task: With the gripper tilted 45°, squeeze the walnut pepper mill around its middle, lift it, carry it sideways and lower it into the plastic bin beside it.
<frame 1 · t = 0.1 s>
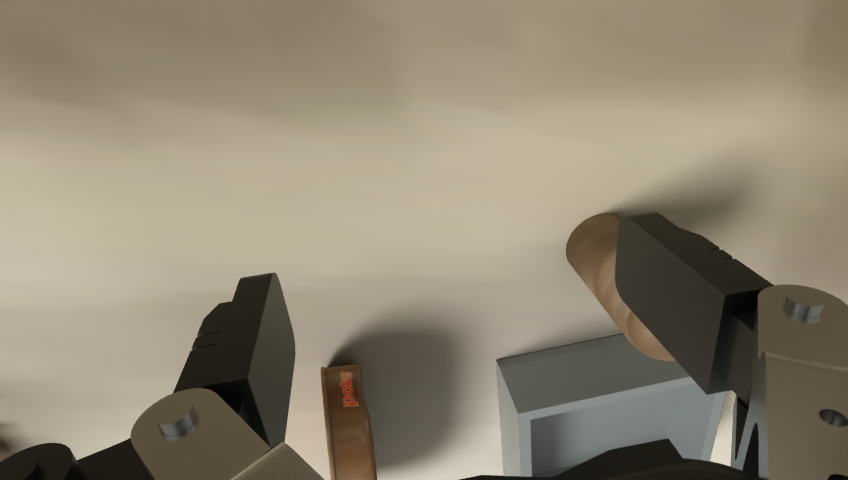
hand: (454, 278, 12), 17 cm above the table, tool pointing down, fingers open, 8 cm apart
pepper mill: (598, 244, 34), on the table
tin: (349, 416, 38), on the table
bin: (589, 404, 41), on the table
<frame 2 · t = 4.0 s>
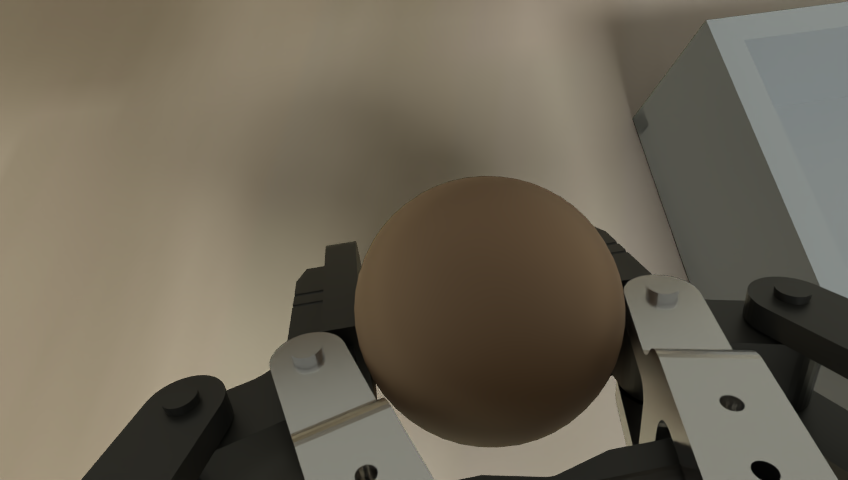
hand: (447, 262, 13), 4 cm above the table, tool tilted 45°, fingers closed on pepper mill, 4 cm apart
pepper mill: (451, 357, 16), on the table, touching gripper
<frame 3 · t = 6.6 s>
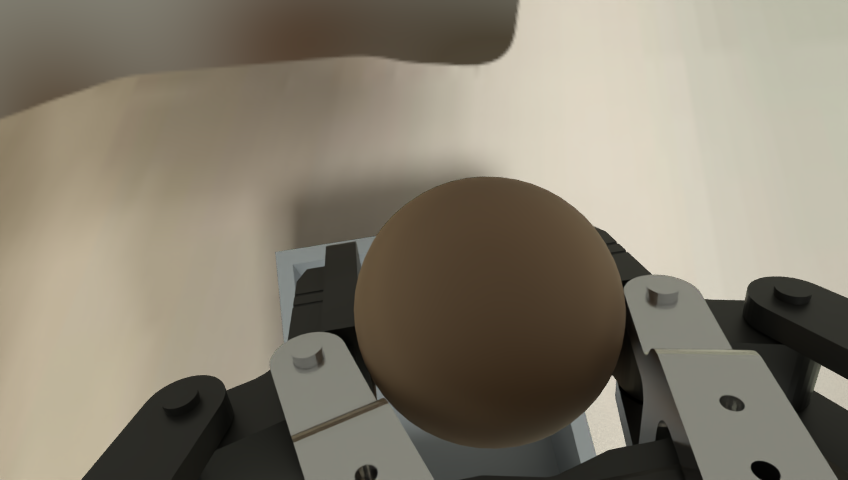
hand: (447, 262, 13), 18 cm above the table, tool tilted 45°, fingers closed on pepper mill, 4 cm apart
pepper mill: (451, 357, 16), point 14 cm above the table, touching gripper
bin: (427, 379, 30), on the table
when the fingers open (6 cm above the table, at t = 9.3 s): pepper mill drops 1 cm, resting on bin.
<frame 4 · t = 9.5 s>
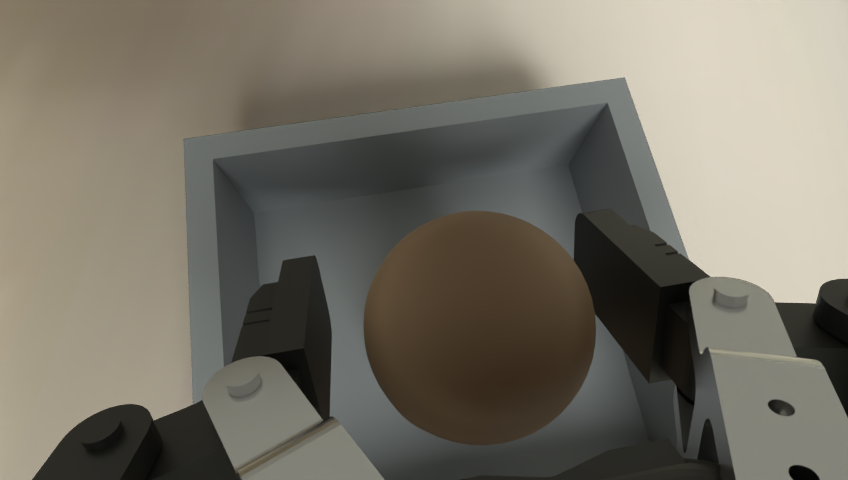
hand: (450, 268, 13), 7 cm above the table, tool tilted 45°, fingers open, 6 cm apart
pepper mill: (447, 365, 17), point 1 cm above the table, touching bin
bin: (446, 364, 18), on the table
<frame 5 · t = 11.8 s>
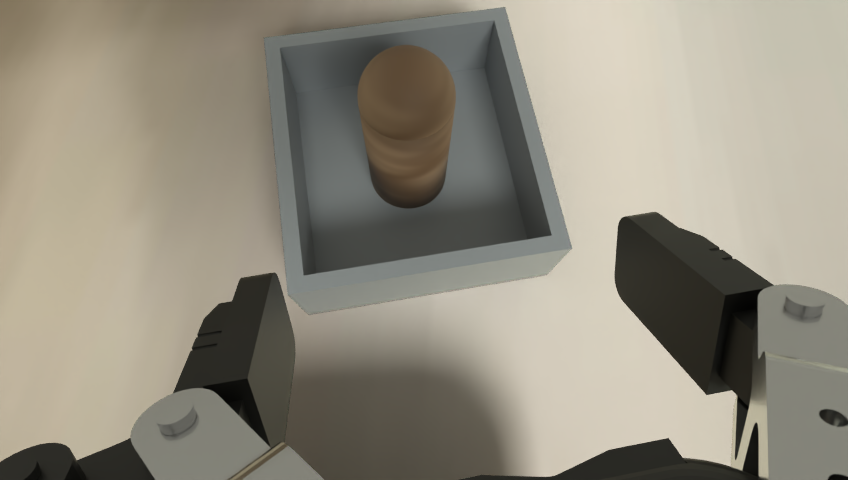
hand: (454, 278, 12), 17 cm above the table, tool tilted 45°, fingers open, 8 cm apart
pepper mill: (408, 174, 31), point 1 cm above the table, touching bin
bin: (408, 178, 31), on the table
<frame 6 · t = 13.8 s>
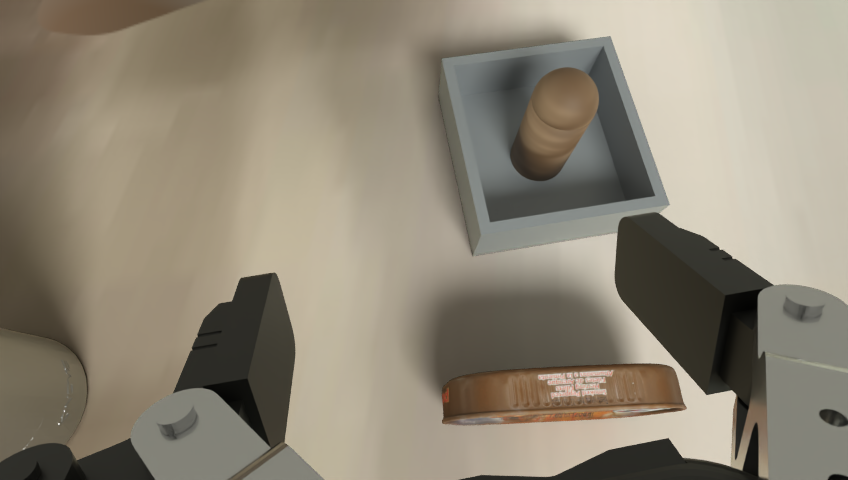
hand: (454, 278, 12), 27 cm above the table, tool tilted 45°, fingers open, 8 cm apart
pepper mill: (537, 156, 42), point 1 cm above the table, touching bin
tin: (542, 398, 37), on the table
bin: (535, 159, 43), on the table
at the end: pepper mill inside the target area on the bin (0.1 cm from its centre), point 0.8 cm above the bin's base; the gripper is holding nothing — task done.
